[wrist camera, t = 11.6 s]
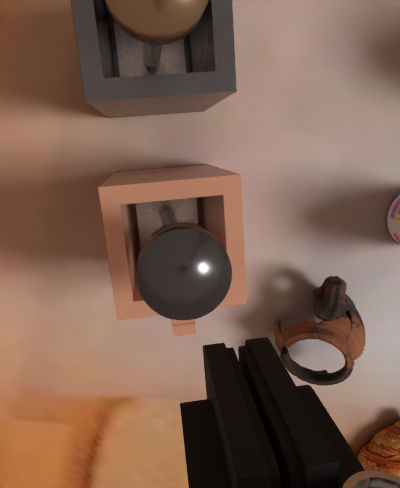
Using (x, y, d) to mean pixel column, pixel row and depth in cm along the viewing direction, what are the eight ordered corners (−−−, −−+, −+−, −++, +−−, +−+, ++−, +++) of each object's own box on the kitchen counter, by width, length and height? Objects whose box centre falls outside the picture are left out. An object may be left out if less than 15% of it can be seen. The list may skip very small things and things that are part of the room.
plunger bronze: (114, 25, 33) (76, -112, 15) (181, 22, 33) (218, -113, 16) (122, 97, 34) (97, 46, 17) (186, 92, 35) (226, 40, 17)
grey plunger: (133, 188, 36) (122, 228, 19) (194, 183, 37) (236, 216, 20) (141, 247, 38) (136, 333, 20) (198, 240, 39) (242, 319, 21)
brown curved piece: (357, 343, 46) (359, 400, 40) (278, 330, 49) (268, 381, 42) (373, 260, 40) (378, 310, 34) (282, 250, 43) (270, 295, 36)
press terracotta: (115, 172, 37) (97, 187, 24) (207, 164, 38) (240, 174, 25) (130, 281, 40) (121, 350, 26) (215, 271, 41) (248, 333, 27)
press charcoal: (90, -21, 33) (50, -136, 19) (194, -24, 34) (225, -136, 20) (108, 118, 36) (85, 101, 22) (203, 111, 37) (236, 91, 23)
